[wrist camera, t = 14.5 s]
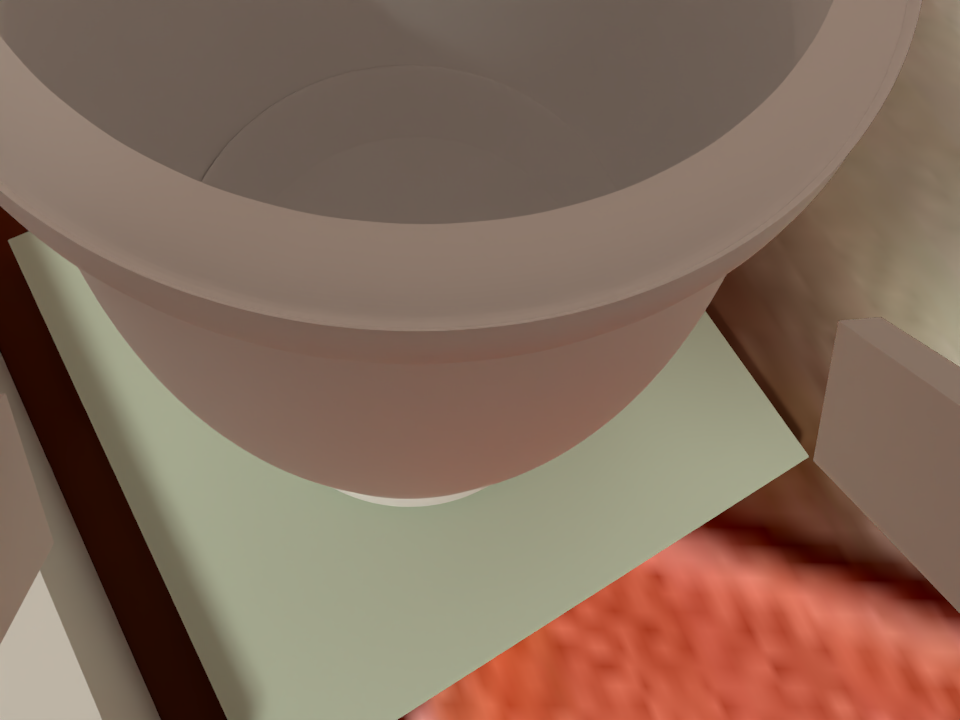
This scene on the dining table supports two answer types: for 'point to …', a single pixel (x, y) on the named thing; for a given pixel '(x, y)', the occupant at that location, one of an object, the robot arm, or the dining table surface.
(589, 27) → the jar
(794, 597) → the dining table surface
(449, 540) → the pad
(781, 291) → the dining table surface
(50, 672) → the white square frame
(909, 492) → the robot arm
